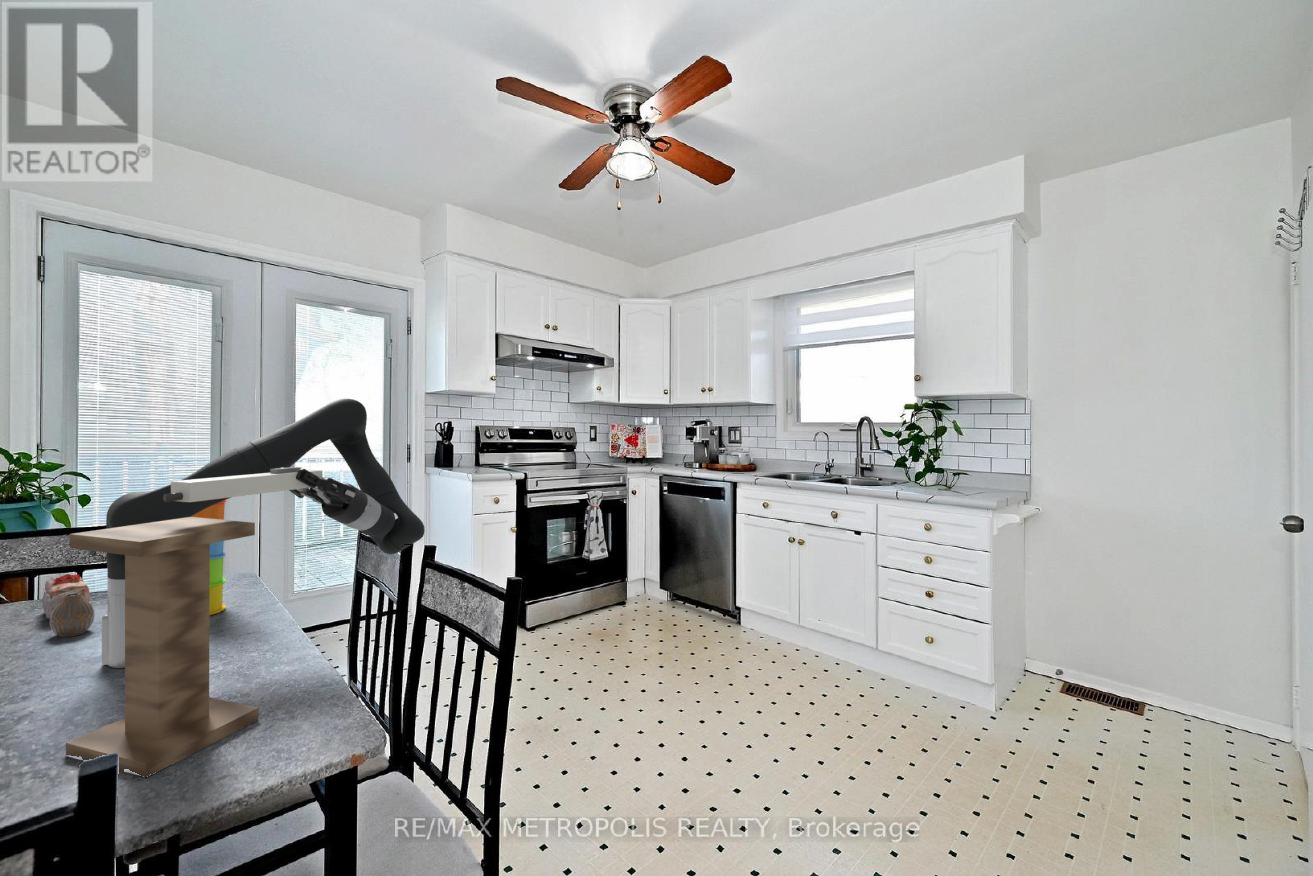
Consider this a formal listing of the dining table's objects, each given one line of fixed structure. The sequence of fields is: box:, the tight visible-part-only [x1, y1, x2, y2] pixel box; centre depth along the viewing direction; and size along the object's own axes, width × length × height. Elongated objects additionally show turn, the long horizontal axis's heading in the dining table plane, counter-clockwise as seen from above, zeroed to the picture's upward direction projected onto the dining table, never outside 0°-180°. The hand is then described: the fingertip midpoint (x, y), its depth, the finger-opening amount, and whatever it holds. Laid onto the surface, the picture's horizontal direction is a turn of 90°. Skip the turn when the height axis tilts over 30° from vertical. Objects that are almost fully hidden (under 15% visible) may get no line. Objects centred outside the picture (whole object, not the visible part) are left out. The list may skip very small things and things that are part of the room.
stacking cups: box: [191, 472, 227, 616], centre depth 140 cm, size 10×10×35 cm
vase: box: [49, 593, 95, 638], centre depth 126 cm, size 7×7×9 cm
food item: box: [41, 573, 91, 620], centre depth 137 cm, size 14×8×10 cm, turn 53°
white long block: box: [163, 466, 324, 502], centre depth 98 cm, size 26×4×4 cm, turn 164°
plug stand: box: [65, 517, 259, 777], centre depth 86 cm, size 16×16×32 cm
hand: (289, 472), depth 105 cm, fingers closed on white long block, 4 cm apart
